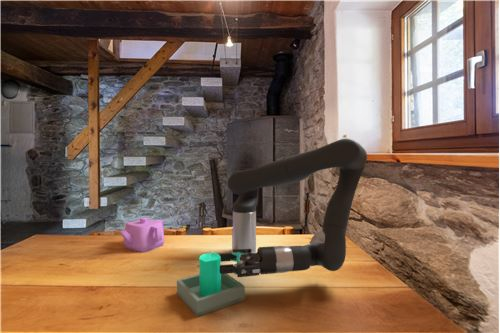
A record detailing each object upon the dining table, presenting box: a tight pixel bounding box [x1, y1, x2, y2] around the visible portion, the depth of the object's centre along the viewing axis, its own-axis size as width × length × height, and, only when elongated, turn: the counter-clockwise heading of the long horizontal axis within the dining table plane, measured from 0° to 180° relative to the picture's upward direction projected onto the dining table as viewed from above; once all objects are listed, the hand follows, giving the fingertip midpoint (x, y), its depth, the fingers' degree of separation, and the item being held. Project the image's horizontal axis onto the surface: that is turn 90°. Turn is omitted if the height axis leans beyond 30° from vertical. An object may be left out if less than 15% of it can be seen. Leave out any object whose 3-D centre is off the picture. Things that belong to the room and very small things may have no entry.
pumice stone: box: [309, 227, 348, 249], centre depth 118 cm, size 15×8×10 cm, turn 82°
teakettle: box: [119, 217, 165, 253], centre depth 123 cm, size 17×17×12 cm
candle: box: [198, 252, 222, 297], centre depth 80 cm, size 6×6×12 cm
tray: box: [176, 273, 246, 318], centre depth 80 cm, size 14×14×4 cm
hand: (218, 263), depth 80 cm, fingers open, 8 cm apart
